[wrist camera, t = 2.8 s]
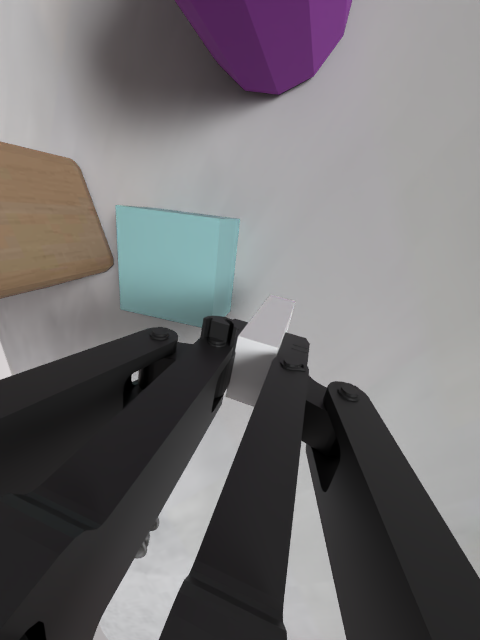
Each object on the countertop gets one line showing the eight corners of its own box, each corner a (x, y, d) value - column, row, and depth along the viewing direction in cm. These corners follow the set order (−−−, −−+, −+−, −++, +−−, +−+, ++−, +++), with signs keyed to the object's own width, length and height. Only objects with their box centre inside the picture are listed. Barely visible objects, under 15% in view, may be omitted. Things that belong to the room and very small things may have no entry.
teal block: (154, 207, 24) (115, 205, 20) (240, 219, 23) (220, 218, 18) (153, 294, 27) (120, 309, 23) (230, 310, 26) (211, 329, 21)
